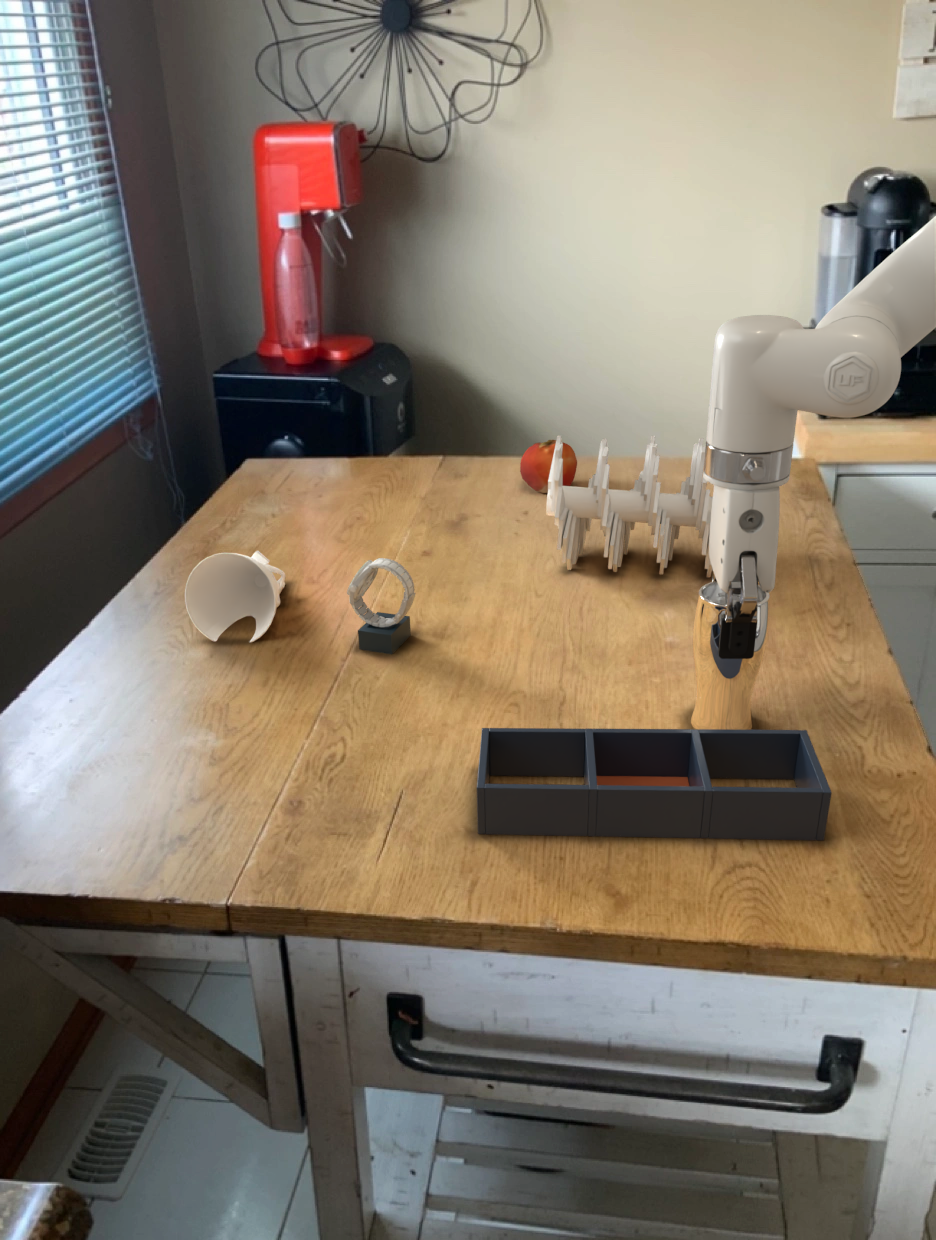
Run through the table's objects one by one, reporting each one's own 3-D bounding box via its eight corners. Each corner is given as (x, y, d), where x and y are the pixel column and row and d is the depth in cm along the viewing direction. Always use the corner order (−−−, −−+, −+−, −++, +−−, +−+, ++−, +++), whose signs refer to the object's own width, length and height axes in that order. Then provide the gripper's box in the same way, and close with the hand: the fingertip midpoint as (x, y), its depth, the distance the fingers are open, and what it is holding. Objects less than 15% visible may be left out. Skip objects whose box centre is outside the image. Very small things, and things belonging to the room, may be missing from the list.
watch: (364, 632, 140) (358, 549, 135) (424, 641, 137) (420, 556, 132) (344, 652, 136) (337, 566, 130) (405, 661, 133) (400, 574, 127)
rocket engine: (263, 514, 152) (220, 532, 135) (329, 570, 152) (294, 596, 135) (214, 577, 156) (166, 603, 139) (278, 632, 156) (238, 665, 139)
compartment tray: (799, 780, 106) (806, 729, 104) (823, 846, 97) (832, 792, 95) (482, 777, 110) (481, 727, 107) (477, 839, 101) (476, 787, 98)
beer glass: (727, 705, 119) (741, 573, 112) (770, 735, 114) (787, 598, 106) (672, 721, 117) (681, 587, 110) (713, 752, 112) (726, 613, 104)
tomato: (581, 496, 180) (582, 447, 176) (523, 500, 180) (523, 450, 176) (572, 478, 188) (573, 431, 184) (517, 482, 188) (516, 434, 184)
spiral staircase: (727, 612, 149) (538, 594, 154) (734, 516, 158) (556, 502, 163) (747, 513, 134) (537, 497, 139) (754, 413, 143) (557, 402, 149)
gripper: (810, 492, 94) (785, 681, 103) (773, 433, 109) (754, 603, 118) (717, 493, 95) (701, 681, 103) (693, 435, 110) (680, 603, 118)
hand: (729, 638), depth 110 cm, fingers closed on beer glass, 7 cm apart
